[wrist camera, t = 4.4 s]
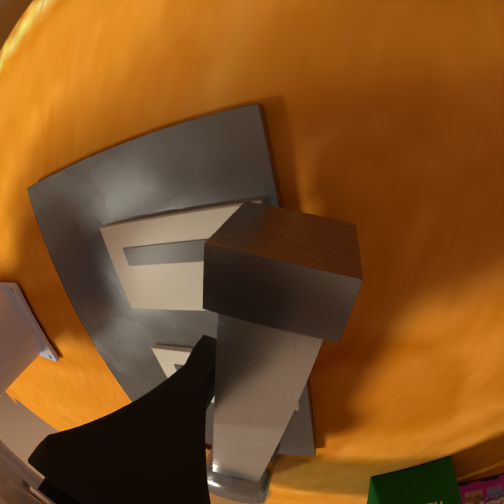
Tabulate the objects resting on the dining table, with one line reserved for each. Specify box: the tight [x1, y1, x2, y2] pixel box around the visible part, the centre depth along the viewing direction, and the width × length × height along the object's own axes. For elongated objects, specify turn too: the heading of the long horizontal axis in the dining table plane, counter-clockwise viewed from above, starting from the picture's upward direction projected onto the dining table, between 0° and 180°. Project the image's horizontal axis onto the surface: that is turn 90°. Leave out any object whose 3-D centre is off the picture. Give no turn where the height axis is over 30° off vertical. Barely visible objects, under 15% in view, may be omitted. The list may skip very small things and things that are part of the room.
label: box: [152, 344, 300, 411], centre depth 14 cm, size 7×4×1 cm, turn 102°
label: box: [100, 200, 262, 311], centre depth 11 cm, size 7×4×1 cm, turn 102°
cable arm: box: [202, 201, 363, 504], centre depth 11 cm, size 17×4×4 cm, turn 174°
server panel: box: [27, 104, 316, 456], centre depth 14 cm, size 13×20×1 cm, turn 12°
